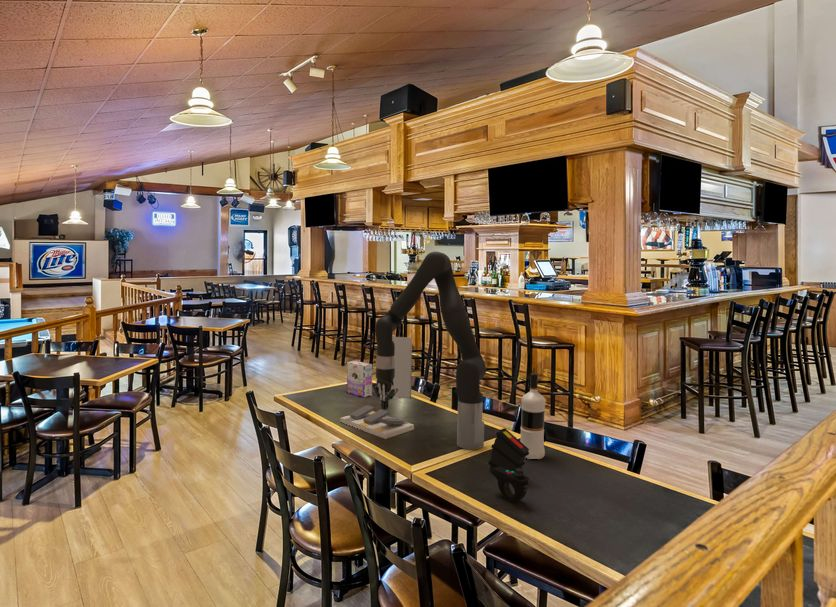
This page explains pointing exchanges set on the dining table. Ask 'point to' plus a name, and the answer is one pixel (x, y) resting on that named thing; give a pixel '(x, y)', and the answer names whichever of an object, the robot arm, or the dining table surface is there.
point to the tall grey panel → (403, 366)
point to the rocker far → (362, 412)
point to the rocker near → (392, 421)
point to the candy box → (359, 378)
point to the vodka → (533, 420)
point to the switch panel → (378, 426)
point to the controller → (511, 482)
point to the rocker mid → (376, 416)
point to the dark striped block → (507, 451)
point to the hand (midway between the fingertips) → (384, 409)
